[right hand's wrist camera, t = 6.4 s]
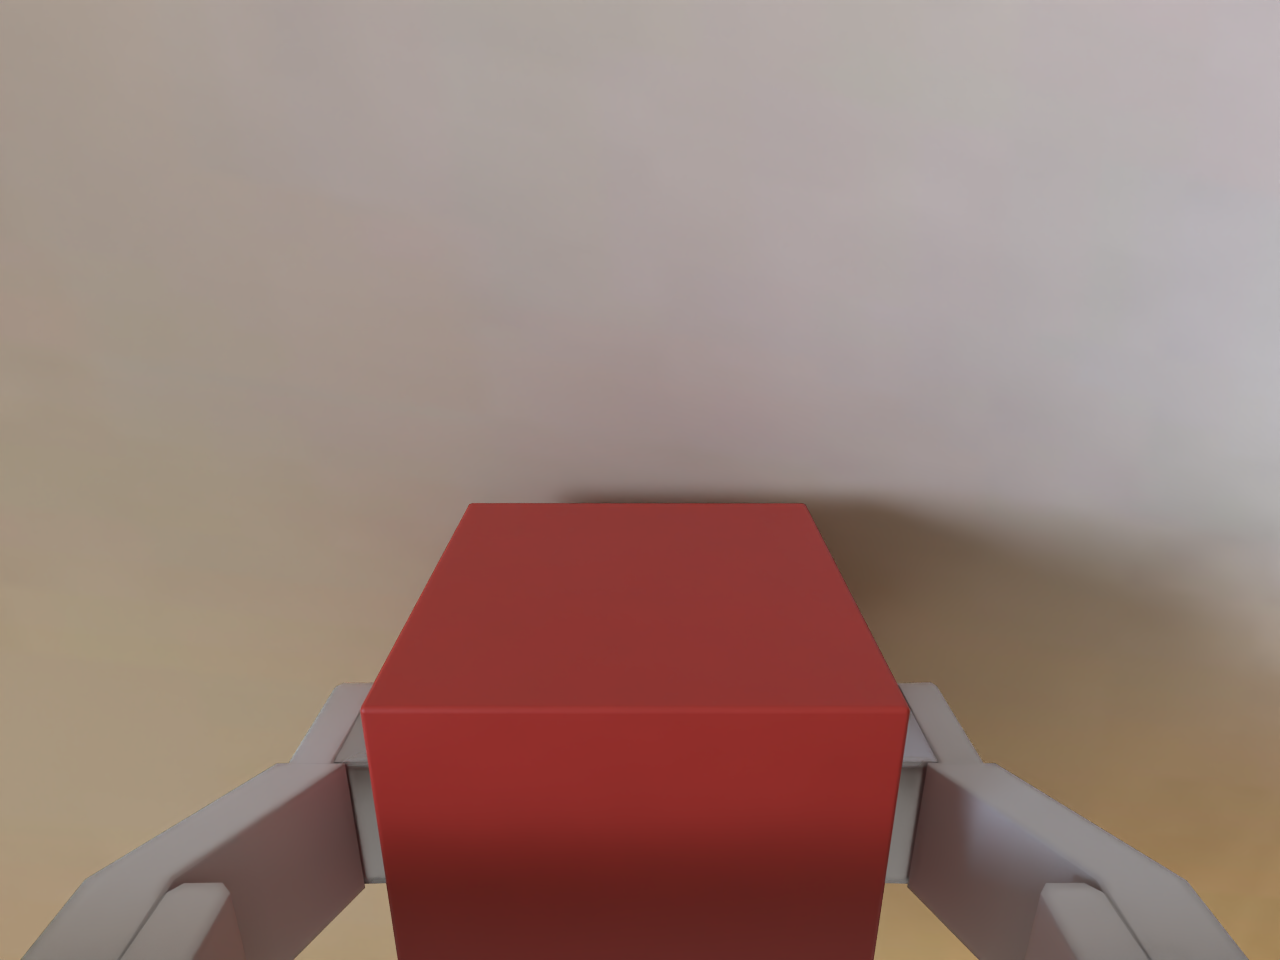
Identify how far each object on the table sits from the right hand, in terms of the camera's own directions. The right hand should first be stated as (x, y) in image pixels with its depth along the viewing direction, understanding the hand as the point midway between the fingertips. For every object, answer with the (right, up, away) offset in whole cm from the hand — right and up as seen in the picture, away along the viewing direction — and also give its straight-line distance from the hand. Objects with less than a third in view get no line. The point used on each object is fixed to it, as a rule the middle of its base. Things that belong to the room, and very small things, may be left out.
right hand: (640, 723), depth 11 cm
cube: (0, +1, +2) cm, 2 cm away
